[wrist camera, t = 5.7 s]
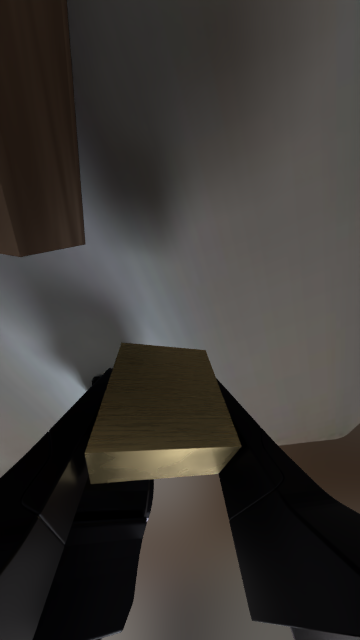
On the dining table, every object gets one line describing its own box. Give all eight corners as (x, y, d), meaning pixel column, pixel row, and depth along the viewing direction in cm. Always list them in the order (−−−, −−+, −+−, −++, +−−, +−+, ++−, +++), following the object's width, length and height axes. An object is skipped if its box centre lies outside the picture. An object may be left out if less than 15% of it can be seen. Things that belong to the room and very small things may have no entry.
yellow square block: (205, 350, 10) (241, 446, 5) (195, 377, 11) (218, 473, 7) (121, 342, 9) (84, 453, 4) (120, 373, 10) (90, 484, 6)
